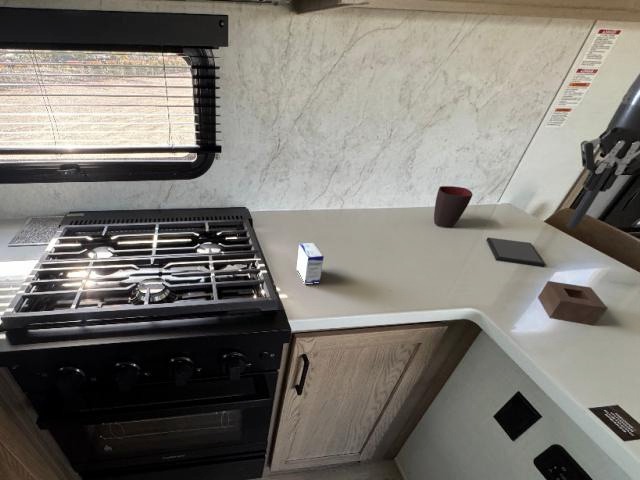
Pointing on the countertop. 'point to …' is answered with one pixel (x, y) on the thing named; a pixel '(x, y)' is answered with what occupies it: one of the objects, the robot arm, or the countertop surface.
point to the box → (309, 262)
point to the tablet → (515, 252)
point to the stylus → (589, 199)
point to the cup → (450, 205)
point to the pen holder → (571, 303)
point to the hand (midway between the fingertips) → (594, 189)
